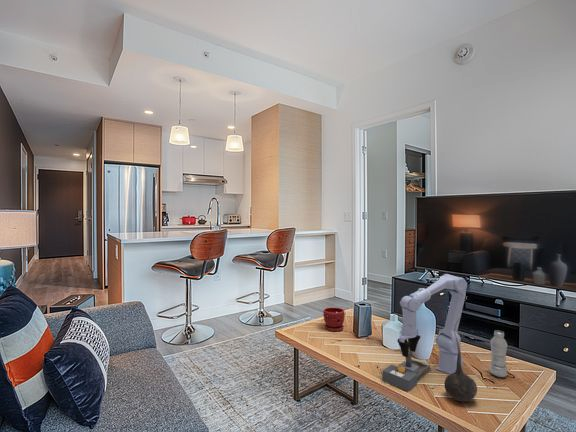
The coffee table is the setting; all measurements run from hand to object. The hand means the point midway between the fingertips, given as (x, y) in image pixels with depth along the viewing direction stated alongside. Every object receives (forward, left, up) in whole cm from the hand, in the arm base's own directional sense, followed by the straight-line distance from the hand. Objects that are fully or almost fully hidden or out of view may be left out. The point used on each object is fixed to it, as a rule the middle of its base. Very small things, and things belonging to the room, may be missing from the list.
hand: (408, 353), depth 146 cm
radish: (-22, +1, -10) cm, 24 cm away
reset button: (0, +7, -7) cm, 10 cm away
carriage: (0, 0, -9) cm, 9 cm away
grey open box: (0, +9, -10) cm, 13 cm away
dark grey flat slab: (0, -4, -10) cm, 11 cm away
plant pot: (+59, -22, -10) cm, 64 cm away
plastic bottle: (-28, -30, -10) cm, 42 cm away
